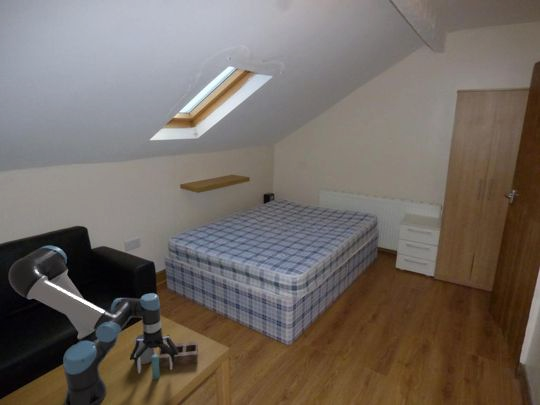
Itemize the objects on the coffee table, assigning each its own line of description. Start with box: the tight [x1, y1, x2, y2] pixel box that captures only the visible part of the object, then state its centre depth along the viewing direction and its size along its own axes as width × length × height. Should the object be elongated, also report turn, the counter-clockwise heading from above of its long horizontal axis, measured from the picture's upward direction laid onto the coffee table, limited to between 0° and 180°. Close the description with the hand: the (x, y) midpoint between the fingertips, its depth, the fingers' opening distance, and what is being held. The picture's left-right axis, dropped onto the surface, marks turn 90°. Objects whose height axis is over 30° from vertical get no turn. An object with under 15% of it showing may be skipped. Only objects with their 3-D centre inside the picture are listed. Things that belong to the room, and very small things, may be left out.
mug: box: [133, 333, 156, 365], centre depth 163 cm, size 12×8×11 cm
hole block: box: [157, 341, 199, 368], centre depth 162 cm, size 18×9×5 cm, turn 100°
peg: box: [151, 353, 161, 381], centre depth 150 cm, size 3×3×11 cm
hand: (155, 369), depth 150 cm, fingers open, 13 cm apart
